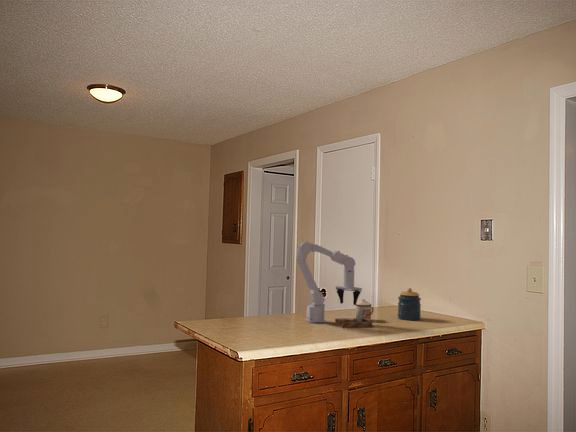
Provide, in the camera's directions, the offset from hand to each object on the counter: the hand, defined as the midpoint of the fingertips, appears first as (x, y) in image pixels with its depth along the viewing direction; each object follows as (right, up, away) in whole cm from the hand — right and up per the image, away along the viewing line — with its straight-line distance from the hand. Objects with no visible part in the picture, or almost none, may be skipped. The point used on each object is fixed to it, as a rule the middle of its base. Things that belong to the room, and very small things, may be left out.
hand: (348, 304), depth 264 cm
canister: (+37, -12, +17) cm, 43 cm away
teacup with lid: (+11, -11, +10) cm, 18 cm away
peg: (+5, -9, -5) cm, 12 cm away
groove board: (+2, -10, -8) cm, 13 cm away
